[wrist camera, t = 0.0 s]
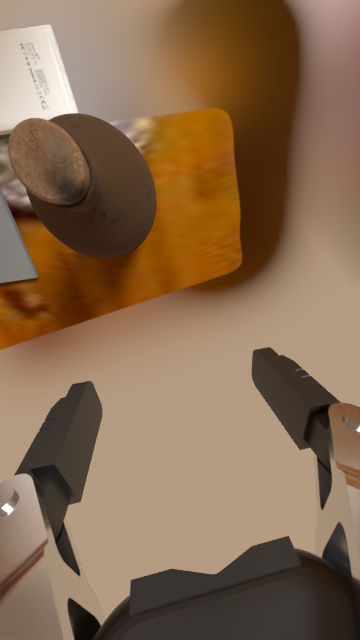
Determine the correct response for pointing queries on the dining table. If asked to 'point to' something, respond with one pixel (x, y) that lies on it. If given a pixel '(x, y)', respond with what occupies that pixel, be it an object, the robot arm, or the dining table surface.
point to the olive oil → (85, 182)
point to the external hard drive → (32, 77)
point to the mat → (13, 249)
